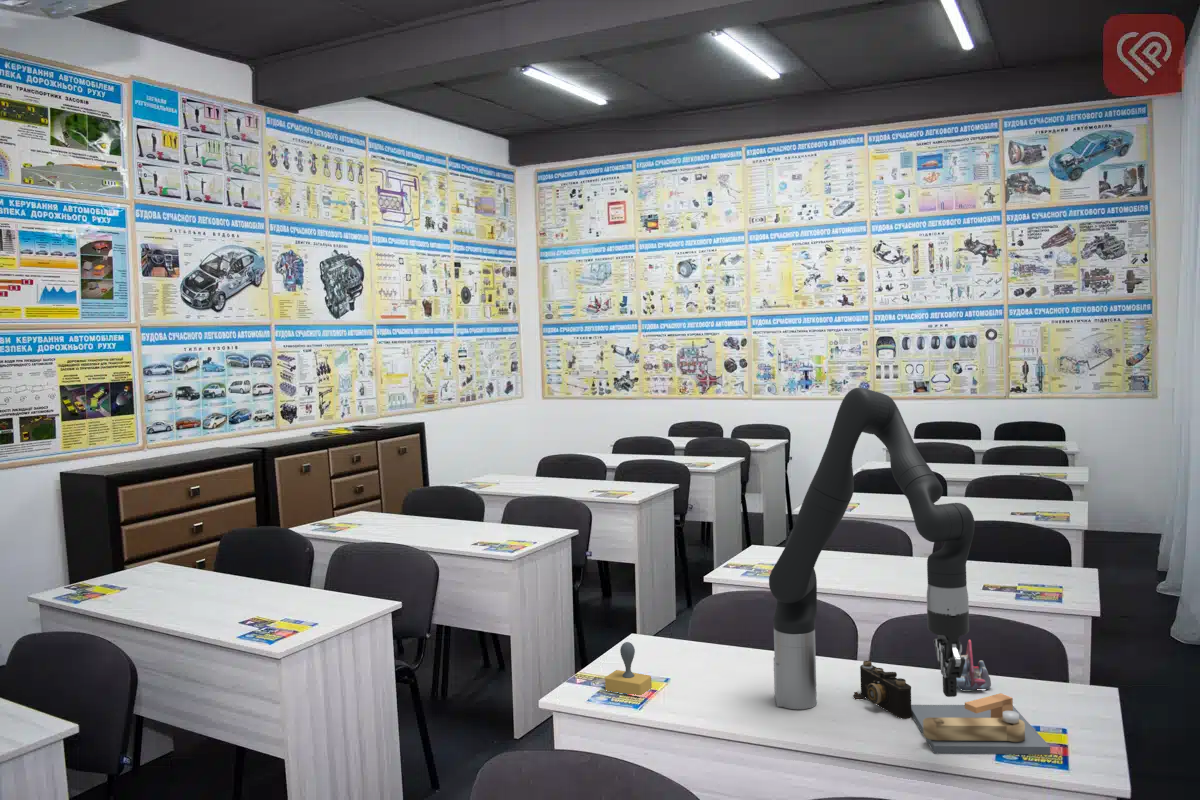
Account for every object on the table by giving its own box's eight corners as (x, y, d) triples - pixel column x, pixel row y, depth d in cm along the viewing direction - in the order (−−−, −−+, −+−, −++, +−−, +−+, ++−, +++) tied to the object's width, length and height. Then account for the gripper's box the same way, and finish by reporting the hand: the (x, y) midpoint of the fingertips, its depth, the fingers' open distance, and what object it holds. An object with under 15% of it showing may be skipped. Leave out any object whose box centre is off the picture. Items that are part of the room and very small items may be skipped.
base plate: (934, 753, 179) (933, 721, 179) (908, 711, 200) (908, 682, 200) (1050, 754, 177) (1050, 721, 177) (1012, 711, 198) (1012, 682, 198)
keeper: (1001, 718, 191) (1000, 693, 191) (1013, 723, 188) (1012, 697, 188) (965, 728, 187) (964, 702, 186) (976, 734, 184) (976, 707, 184)
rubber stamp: (652, 690, 218) (650, 641, 218) (641, 698, 213) (639, 648, 213) (616, 684, 223) (614, 636, 223) (604, 692, 218) (603, 643, 218)
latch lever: (1019, 731, 184) (1019, 716, 184) (1028, 741, 179) (1028, 727, 179) (920, 730, 186) (920, 716, 186) (927, 741, 181) (926, 726, 181)
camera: (847, 695, 211) (846, 661, 210) (871, 691, 213) (871, 658, 212) (890, 722, 195) (889, 686, 195) (916, 717, 197) (915, 681, 197)
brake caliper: (1005, 686, 206) (970, 643, 208) (964, 712, 209) (930, 669, 210) (996, 669, 217) (963, 628, 219) (958, 694, 220) (926, 653, 221)
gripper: (918, 598, 181) (921, 683, 182) (937, 617, 168) (939, 709, 169) (957, 597, 180) (959, 682, 181) (978, 616, 167) (981, 708, 168)
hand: (950, 695), depth 175 cm, fingers closed
